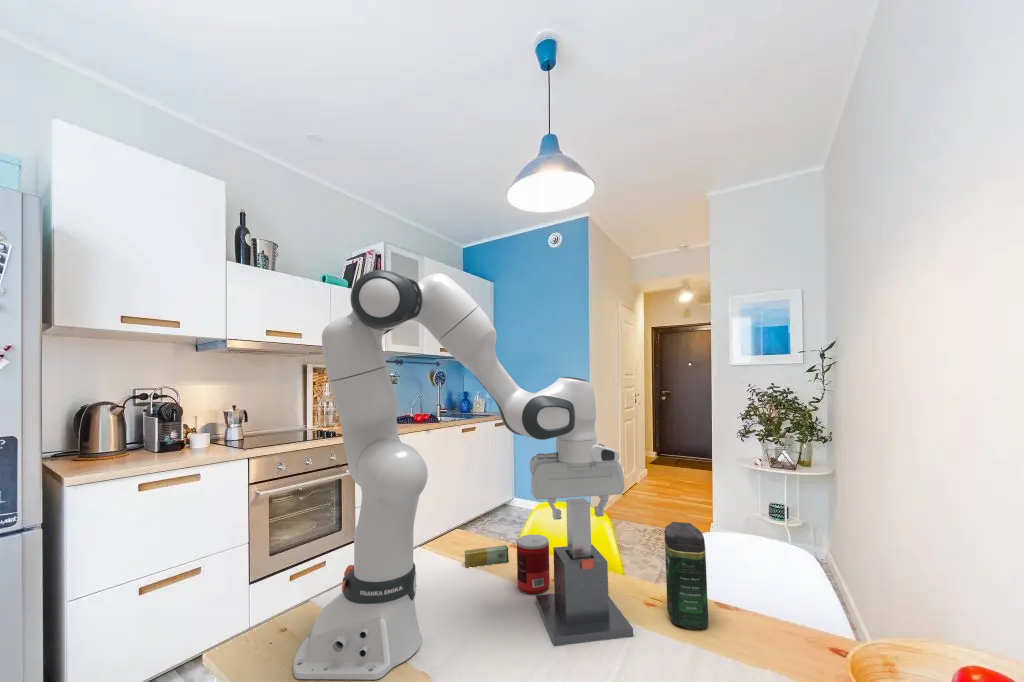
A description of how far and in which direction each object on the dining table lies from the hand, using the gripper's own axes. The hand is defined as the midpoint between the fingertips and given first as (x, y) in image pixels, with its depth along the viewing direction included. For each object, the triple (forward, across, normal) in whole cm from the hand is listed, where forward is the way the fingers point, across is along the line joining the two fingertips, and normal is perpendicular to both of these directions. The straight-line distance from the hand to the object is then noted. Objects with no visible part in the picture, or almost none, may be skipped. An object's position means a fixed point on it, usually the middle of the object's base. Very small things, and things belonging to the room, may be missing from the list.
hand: (578, 517), depth 92 cm
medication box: (+21, -17, +30) cm, 41 cm away
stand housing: (+21, 0, 0) cm, 21 cm away
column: (+19, 0, 0) cm, 19 cm away
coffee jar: (+21, +22, -4) cm, 31 cm away
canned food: (+21, -7, +15) cm, 27 cm away
